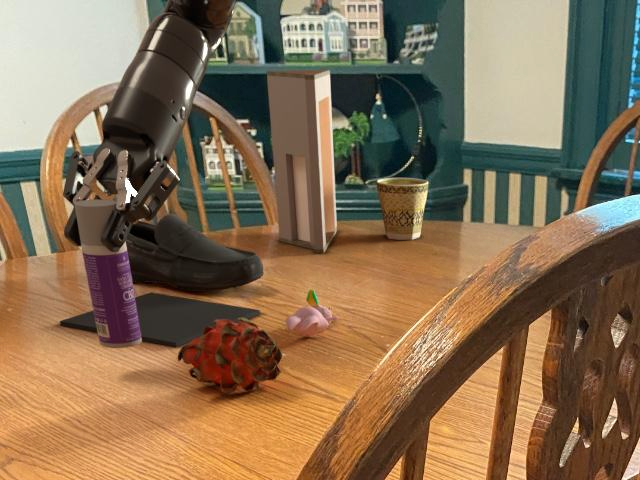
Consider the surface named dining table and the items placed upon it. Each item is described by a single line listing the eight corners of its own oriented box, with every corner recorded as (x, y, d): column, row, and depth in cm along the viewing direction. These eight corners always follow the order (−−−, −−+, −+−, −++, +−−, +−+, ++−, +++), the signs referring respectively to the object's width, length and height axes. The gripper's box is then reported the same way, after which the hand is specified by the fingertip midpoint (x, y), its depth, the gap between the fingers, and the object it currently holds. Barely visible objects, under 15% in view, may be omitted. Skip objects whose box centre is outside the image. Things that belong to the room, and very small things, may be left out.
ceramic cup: (408, 244, 172) (408, 186, 167) (367, 237, 177) (365, 181, 171) (446, 233, 182) (447, 179, 176) (405, 227, 186) (405, 174, 181)
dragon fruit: (292, 407, 103) (193, 416, 105) (298, 345, 106) (201, 355, 108) (265, 362, 95) (159, 372, 97) (272, 296, 98) (169, 308, 100)
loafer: (246, 301, 135) (239, 228, 130) (83, 282, 143) (70, 213, 137) (279, 285, 144) (273, 216, 138) (123, 268, 151) (112, 203, 146)
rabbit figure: (301, 329, 128) (272, 342, 114) (300, 284, 126) (270, 293, 112) (345, 331, 128) (321, 345, 114) (344, 286, 125) (320, 295, 112)
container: (139, 347, 103) (115, 206, 95) (96, 349, 103) (69, 206, 94) (144, 335, 107) (122, 198, 99) (103, 336, 106) (77, 199, 98)
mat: (60, 325, 123) (59, 320, 123) (151, 296, 137) (151, 292, 136) (176, 347, 116) (175, 342, 115) (260, 314, 130) (259, 309, 129)
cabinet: (323, 253, 164) (314, 75, 149) (270, 252, 164) (255, 73, 149) (337, 231, 182) (329, 69, 167) (289, 230, 182) (277, 68, 167)
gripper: (78, 80, 99) (16, 215, 96) (182, 87, 94) (119, 230, 91) (121, 130, 106) (64, 257, 103) (220, 139, 101) (162, 273, 98)
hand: (90, 244), depth 97 cm, fingers closed on container, 4 cm apart
